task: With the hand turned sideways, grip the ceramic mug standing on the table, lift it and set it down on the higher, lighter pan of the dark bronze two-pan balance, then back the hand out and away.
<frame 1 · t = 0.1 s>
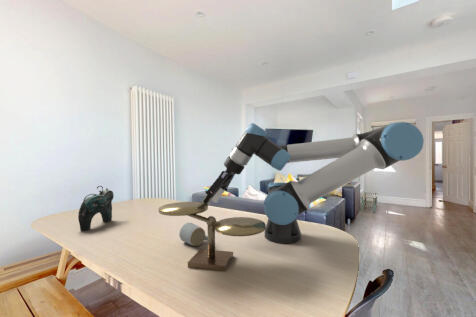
hand: (207, 205, 87), 15 cm above the table, tool tilted 35°, fingers open, 13 cm apart
balance: (211, 261, 71), on the table
ceramic mug: (195, 243, 87), on the table
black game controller: (98, 225, 112), on the table
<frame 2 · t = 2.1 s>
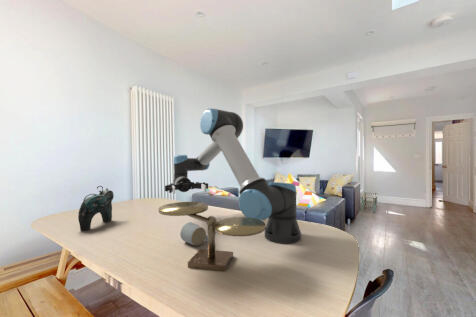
hand: (190, 189, 96), 20 cm above the table, tool horizontal, fingers open, 13 cm apart
nothing on the table moved.
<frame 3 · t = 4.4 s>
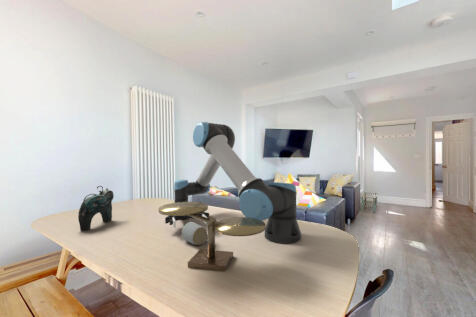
hand: (190, 222, 94), 6 cm above the table, tool horizontal, fingers open, 13 cm apart
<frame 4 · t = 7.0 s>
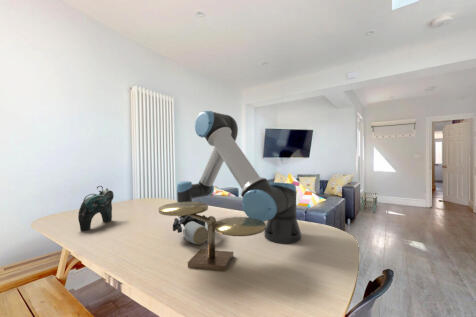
hand: (197, 230, 83), 6 cm above the table, tool horizontal, fingers closed on ceramic mug, 9 cm apart
ceramic mug: (198, 241, 88), on the table, touching gripper
everything else where it was.
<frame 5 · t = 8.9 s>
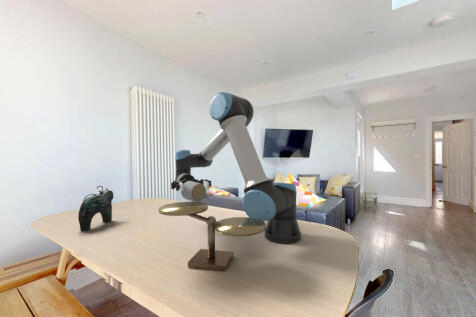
hand: (195, 186, 83), 23 cm above the table, tool horizontal, fingers closed on ceramic mug, 9 cm apart
ceramic mug: (196, 200, 89), point 17 cm above the table, touching gripper
everything else where it was.
when the fingers open (25 cm above the table, at t = 11.3 s): ceramic mug drops 1 cm, resting on balance.
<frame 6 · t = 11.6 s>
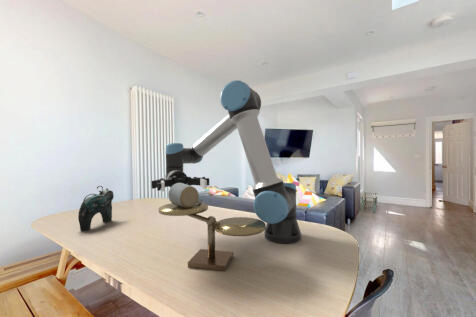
hand: (185, 185, 70), 25 cm above the table, tool horizontal, fingers open, 13 cm apart
ceramic mug: (187, 206, 74), point 17 cm above the table, touching balance
everything else where it was.
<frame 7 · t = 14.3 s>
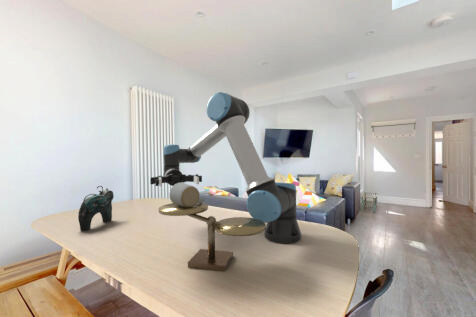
hand: (179, 181, 81), 25 cm above the table, tool horizontal, fingers open, 13 cm apart
nothing on the table moved.
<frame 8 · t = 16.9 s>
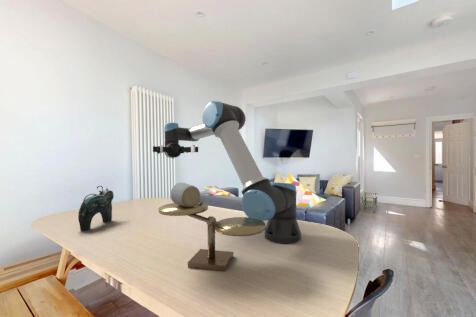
hand: (178, 148, 93), 38 cm above the table, tool horizontal, fingers open, 13 cm apart
nothing on the table moved.
at the end: ceramic mug inside the target area on the balance (2.2 cm from its centre), point 17.4 cm above the balance's base; ceramic mug tilted 2°; the gripper is holding nothing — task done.
